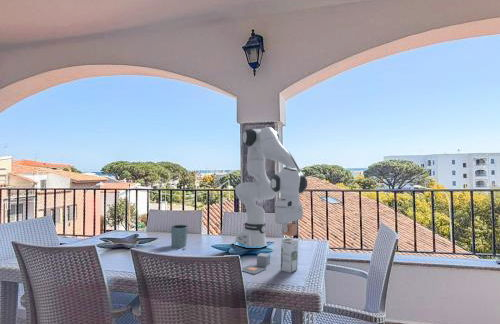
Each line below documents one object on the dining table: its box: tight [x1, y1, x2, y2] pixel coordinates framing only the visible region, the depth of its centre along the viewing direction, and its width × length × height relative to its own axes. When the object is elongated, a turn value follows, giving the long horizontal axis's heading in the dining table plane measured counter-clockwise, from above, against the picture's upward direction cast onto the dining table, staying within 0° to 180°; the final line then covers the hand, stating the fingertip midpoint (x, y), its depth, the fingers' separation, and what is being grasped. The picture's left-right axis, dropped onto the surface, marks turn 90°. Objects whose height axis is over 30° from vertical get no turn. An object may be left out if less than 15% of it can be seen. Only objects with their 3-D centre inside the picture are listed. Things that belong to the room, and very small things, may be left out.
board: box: [241, 264, 267, 275], centre depth 140 cm, size 9×9×1 cm
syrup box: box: [280, 237, 299, 274], centre depth 140 cm, size 6×6×14 cm
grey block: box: [256, 252, 271, 268], centre depth 147 cm, size 5×5×5 cm
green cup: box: [170, 224, 189, 249], centre depth 180 cm, size 10×10×12 cm
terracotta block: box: [282, 222, 298, 237], centre depth 140 cm, size 5×5×5 cm
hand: (289, 230), depth 140 cm, fingers closed on terracotta block, 5 cm apart
